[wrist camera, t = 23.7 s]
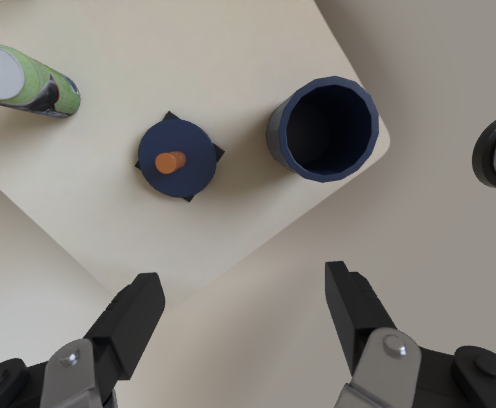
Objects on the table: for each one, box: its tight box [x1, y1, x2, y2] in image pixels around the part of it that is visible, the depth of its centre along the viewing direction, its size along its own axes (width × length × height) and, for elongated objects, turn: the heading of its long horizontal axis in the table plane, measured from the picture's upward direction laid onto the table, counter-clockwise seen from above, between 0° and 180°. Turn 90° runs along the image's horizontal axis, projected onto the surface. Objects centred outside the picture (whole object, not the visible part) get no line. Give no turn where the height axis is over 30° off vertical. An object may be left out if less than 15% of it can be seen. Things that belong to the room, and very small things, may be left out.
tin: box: [266, 76, 379, 183], centre depth 31 cm, size 11×11×12 cm
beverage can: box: [0, 45, 80, 118], centre depth 29 cm, size 6×7×12 cm
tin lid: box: [138, 119, 217, 197], centre depth 34 cm, size 12×12×7 cm
